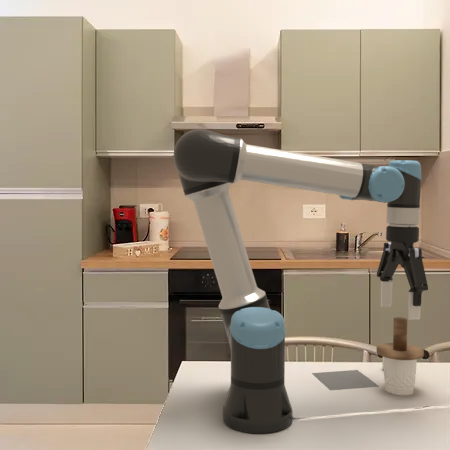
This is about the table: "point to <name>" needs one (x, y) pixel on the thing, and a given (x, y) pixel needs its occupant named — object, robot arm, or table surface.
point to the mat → (344, 380)
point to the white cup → (399, 376)
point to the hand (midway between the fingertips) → (399, 313)
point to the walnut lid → (400, 344)
